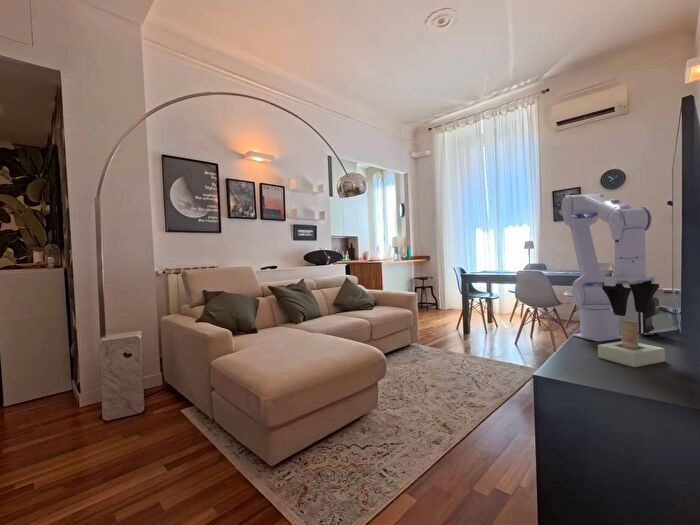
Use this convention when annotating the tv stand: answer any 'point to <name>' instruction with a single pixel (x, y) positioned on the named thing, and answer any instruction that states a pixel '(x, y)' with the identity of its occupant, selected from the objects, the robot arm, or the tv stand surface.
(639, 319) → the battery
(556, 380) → the tv stand surface
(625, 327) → the peg
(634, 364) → the hole block
